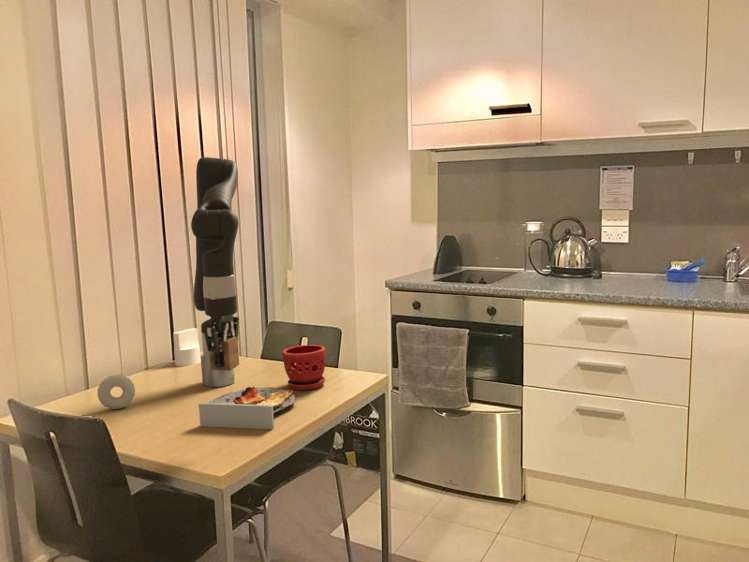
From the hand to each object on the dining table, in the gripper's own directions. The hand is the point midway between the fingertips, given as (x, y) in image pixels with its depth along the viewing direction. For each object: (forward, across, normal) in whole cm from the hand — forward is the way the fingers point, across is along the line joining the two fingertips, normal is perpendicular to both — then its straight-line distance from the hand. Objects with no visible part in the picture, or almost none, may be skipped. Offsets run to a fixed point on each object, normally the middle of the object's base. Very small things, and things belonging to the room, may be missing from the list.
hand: (224, 363), depth 144 cm
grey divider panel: (+19, -7, -2) cm, 20 cm away
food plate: (+20, -22, -4) cm, 30 cm away
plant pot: (+19, -43, +5) cm, 47 cm away
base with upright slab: (+20, -66, -48) cm, 84 cm away
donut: (+20, -17, -43) cm, 50 cm away
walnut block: (+1, 0, 0) cm, 1 cm away
